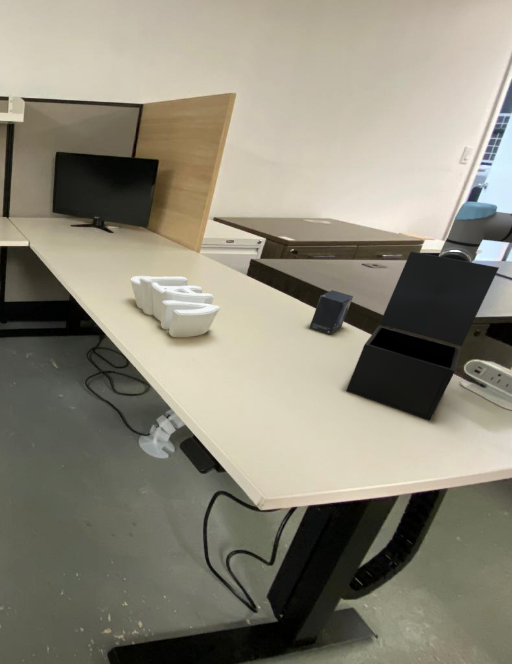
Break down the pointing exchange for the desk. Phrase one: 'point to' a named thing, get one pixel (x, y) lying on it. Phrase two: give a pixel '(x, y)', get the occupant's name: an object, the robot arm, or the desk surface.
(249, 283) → the desk surface
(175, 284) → the white letter sign
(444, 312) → the black box lid
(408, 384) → the black box body
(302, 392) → the desk surface
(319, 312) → the small box
